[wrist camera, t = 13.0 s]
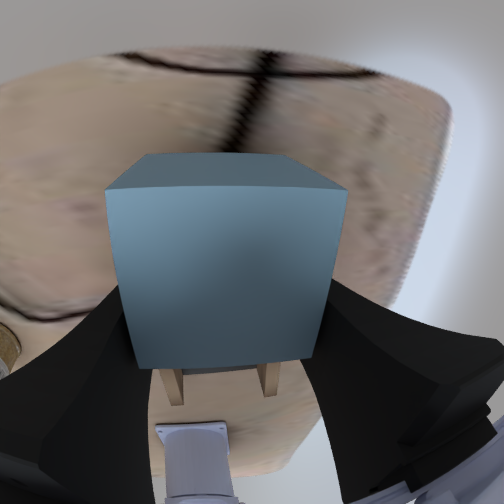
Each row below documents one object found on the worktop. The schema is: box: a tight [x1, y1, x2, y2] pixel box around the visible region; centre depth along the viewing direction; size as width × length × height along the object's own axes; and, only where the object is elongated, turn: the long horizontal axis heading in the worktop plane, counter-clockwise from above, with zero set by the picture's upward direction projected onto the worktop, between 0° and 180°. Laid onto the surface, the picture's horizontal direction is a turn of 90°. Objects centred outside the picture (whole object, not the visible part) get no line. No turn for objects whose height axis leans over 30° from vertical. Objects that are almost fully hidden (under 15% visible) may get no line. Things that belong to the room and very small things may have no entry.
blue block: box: [105, 153, 348, 369], centre depth 8 cm, size 4×4×4 cm
